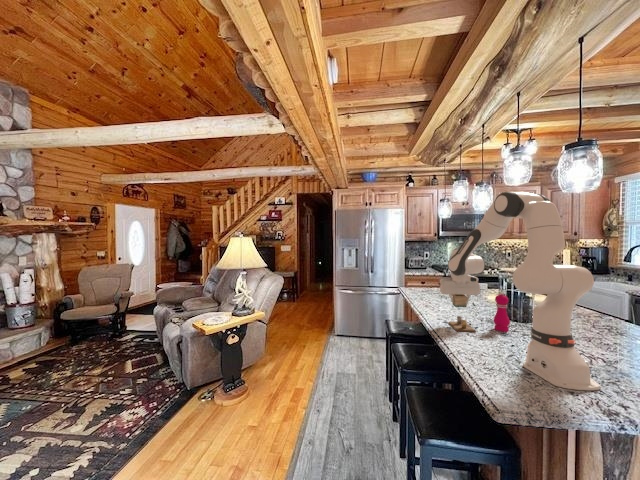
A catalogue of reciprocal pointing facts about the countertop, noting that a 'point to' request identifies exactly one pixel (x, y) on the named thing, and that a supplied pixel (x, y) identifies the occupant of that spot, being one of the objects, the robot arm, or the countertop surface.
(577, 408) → the countertop surface
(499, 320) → the pepper mill
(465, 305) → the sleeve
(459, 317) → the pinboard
